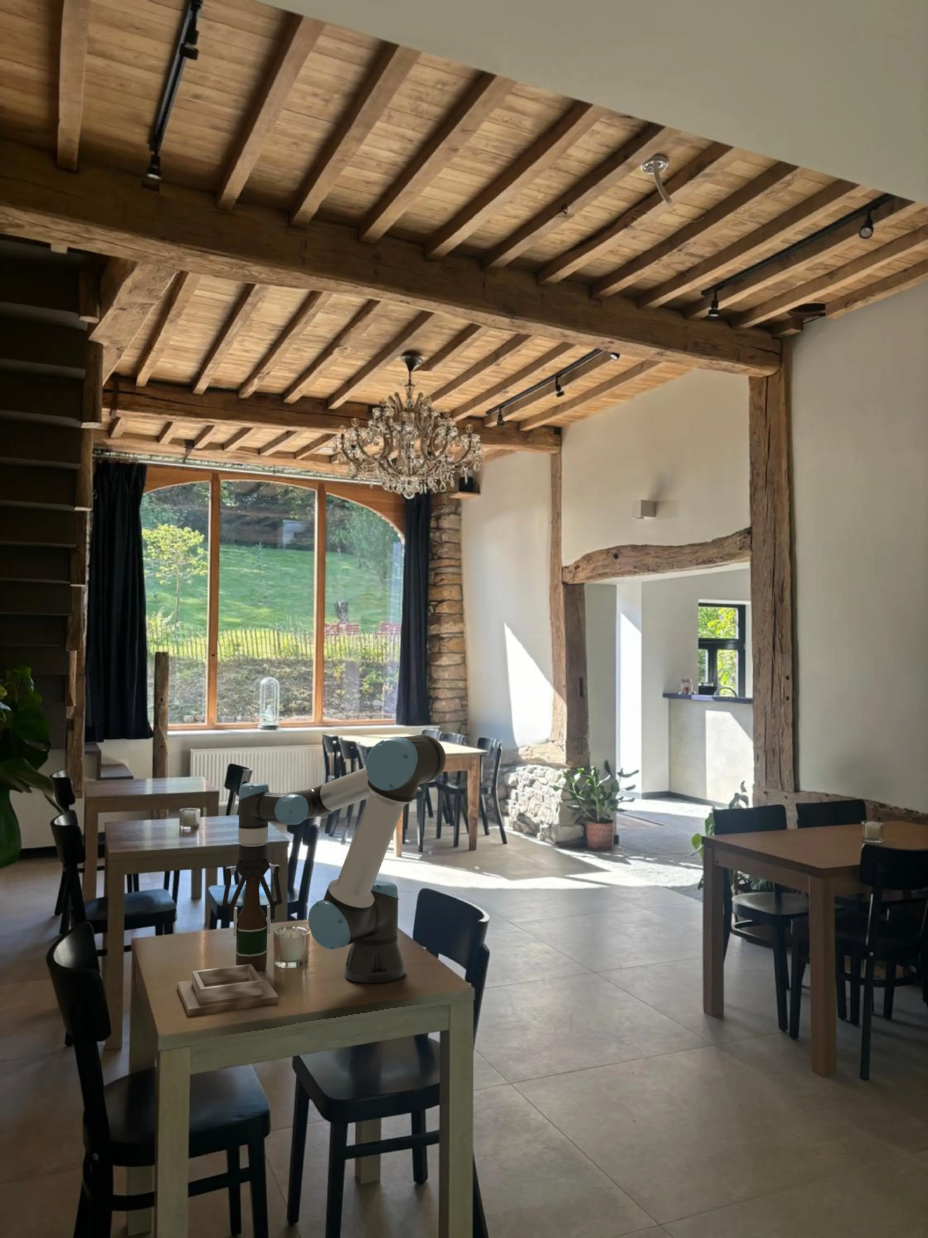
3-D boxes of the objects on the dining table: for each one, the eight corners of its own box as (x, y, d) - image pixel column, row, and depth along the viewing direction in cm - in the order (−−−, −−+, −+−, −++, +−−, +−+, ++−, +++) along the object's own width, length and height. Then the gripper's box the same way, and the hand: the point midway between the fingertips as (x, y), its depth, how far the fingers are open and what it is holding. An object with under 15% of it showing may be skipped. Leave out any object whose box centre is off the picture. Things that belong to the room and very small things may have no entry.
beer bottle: (264, 974, 232) (265, 878, 234) (233, 975, 231) (234, 878, 233) (268, 964, 240) (269, 871, 241) (238, 965, 239) (239, 872, 241)
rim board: (260, 977, 230) (260, 959, 230) (278, 1003, 211) (278, 983, 212) (177, 988, 222) (177, 969, 222) (188, 1016, 203) (188, 995, 204)
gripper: (292, 839, 244) (291, 927, 242) (212, 842, 239) (211, 932, 238) (294, 844, 236) (293, 935, 235) (211, 847, 232) (209, 940, 230)
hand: (251, 933), depth 236 cm, fingers closed on beer bottle, 8 cm apart
